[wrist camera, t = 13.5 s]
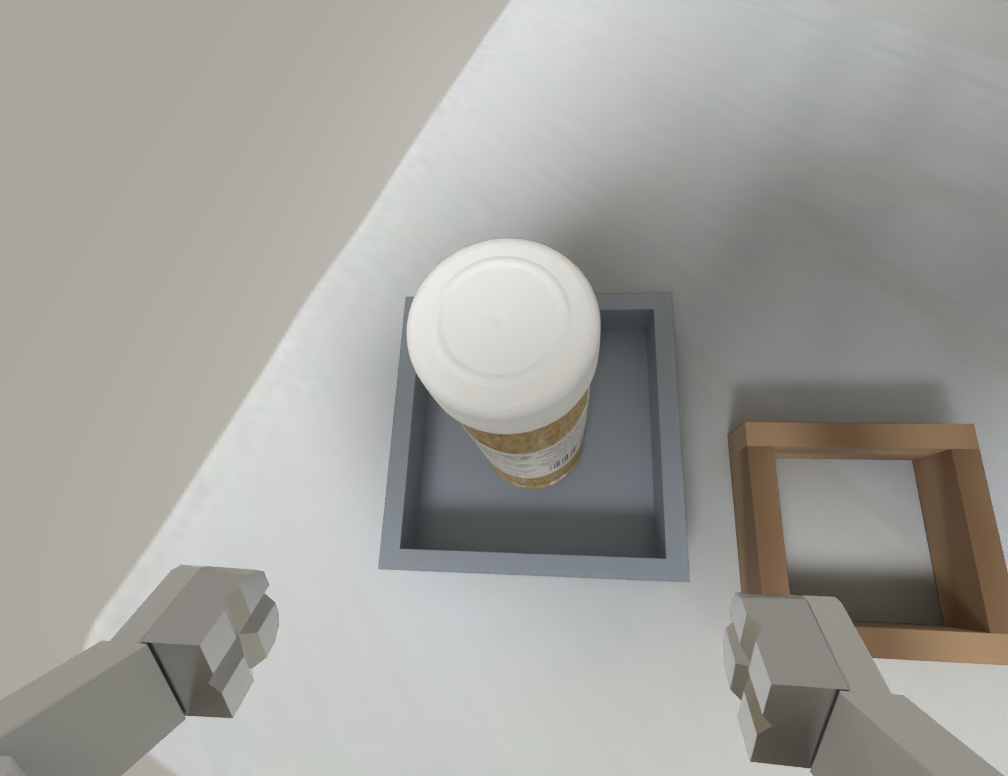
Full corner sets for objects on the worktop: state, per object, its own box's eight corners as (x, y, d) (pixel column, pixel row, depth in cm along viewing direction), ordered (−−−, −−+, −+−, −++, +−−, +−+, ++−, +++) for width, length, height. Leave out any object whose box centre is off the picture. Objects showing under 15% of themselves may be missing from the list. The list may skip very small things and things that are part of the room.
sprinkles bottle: (542, 376, 26) (519, 196, 13) (604, 450, 25) (647, 330, 12) (465, 434, 25) (364, 306, 13) (524, 513, 24) (478, 459, 11)
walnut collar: (932, 437, 24) (973, 424, 21) (976, 654, 21) (1029, 666, 19) (727, 435, 25) (744, 421, 22) (745, 642, 22) (767, 652, 20)
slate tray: (660, 320, 27) (671, 292, 24) (674, 579, 23) (689, 582, 20) (421, 323, 28) (405, 296, 25) (399, 568, 24) (378, 569, 22)
